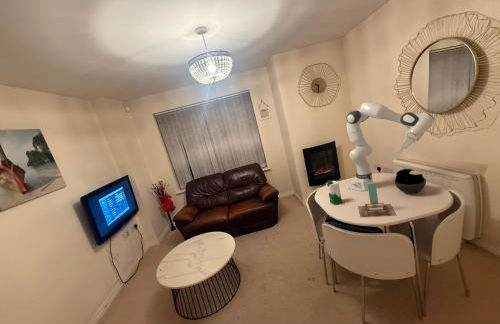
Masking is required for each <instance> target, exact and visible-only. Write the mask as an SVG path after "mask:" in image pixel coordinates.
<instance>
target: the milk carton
mask: <svg viewBox="0 0 500 324" xmlns="http://www.w3.org/2000/svg"><path fill="white" fill-rule="evenodd" d="M325 185H326V187H327V192H328V197H329V198H328V199H329V202H330V204H333V206H336V205H340V204H342V203H343V200H342V194H341V189H340V182H338V181H336V180H327V182H326V183H325Z"/></svg>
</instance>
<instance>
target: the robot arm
mask: <svg viewBox="0 0 500 324" xmlns="http://www.w3.org/2000/svg"><path fill="white" fill-rule="evenodd" d="M369 118H374V119H379V120H387V121H392V122H395V123H398V124H401V125H403V127H406V128H407V129H408V130H407V132H406V133H405V134H404V135H405V139H404V140H403V141H402V143H401V145H400V148H399V150H398V151H397V153H399V154H401V153H402V152H403V151H405V150H406V149H407V148H409V147H410V146H411V145H412V144H413V143H415V142H419V141H420V140H421V139H422V138H423V136H424V134H425V133H426V132H427V131H429V129H430V128H431V127H432V125H433V124H434V122H435V121H436V120H435V117H434V116H433V115H431V114H430V113H428V112H410V111H408V112H404V113H403V114H402V113H401V114H400V113H398V112H395V111H393V110H392V109H390V108H389V107H388V106H386V105H383V104H382V103H377V102H373V101H366V102H363V103H362V104H361V106H360V108H357V109H355V110H352V111H350V112H349V113H348V114H347V115H346V123H345V126H346V131H347V135H348V139H349V141H350V143H352V144H353V145H354V147H355V148H353V149H352V150H351V151H350V153H349V155H348V156H349V158H350V159H351V161H353V162H354V164H355V168H356V174H354V176H355V177H354V178H353V179H352V180H351V181H350V184H349V186H348V190H354V191H359V192H365V191H368V185H367V183H370V182H374V181H373V173H372V170H371V169H372V168H371V164H370V162H368V161H367V157H369V156H370V155H371V153H372V152H373V147H372V145H370V144H369V143H368V142H367V141H366V140H365V137H364V134H363V131H362V128H361V125H360V124H361V123H363V122H365V121H366V120H367V119H369Z"/></svg>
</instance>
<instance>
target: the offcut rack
mask: <svg viewBox="0 0 500 324" xmlns="http://www.w3.org/2000/svg"><path fill="white" fill-rule="evenodd" d="M378 203H379V204H383V205H384V208H383V210H380V211H370V209H368V208H367V205H370V203H364V205H358V206H357V209H358V213H359V218H375V217H376V218H377V217H380V218H381V217H397V216H398V215H397V213H396V211H395V209H394V207H393V206H392V204H391V203H386V204H384V202H378Z"/></svg>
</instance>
